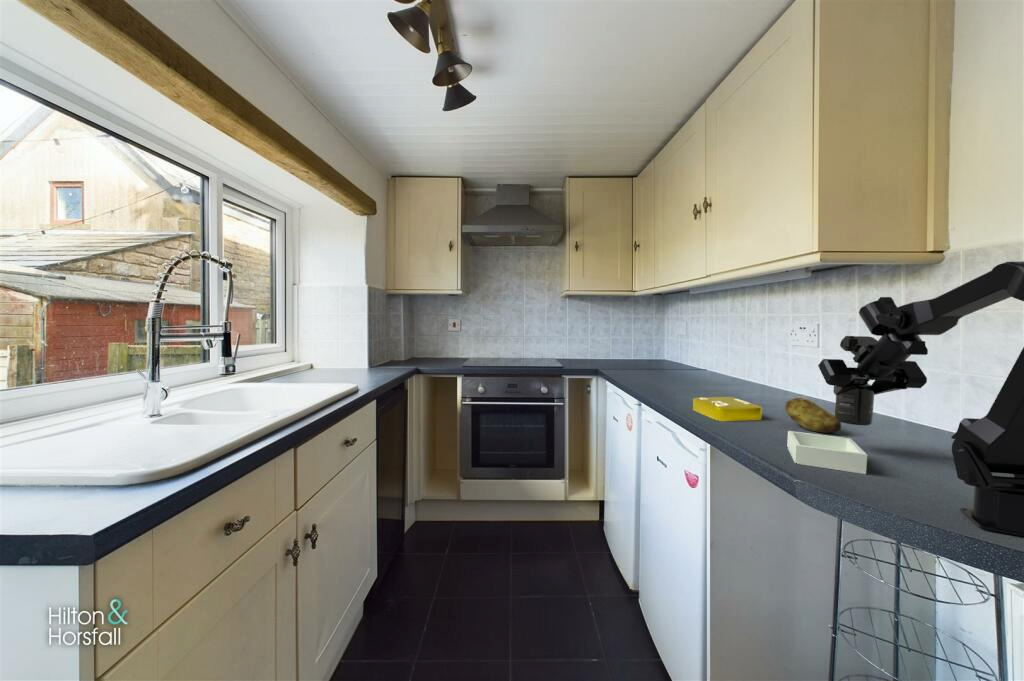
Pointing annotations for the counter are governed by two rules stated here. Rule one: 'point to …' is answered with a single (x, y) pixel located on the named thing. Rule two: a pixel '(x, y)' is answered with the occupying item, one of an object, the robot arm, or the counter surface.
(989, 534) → the counter surface
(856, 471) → the sage tray
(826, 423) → the potato
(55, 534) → the counter surface
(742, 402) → the element tile
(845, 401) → the supplement bottle
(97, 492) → the counter surface
